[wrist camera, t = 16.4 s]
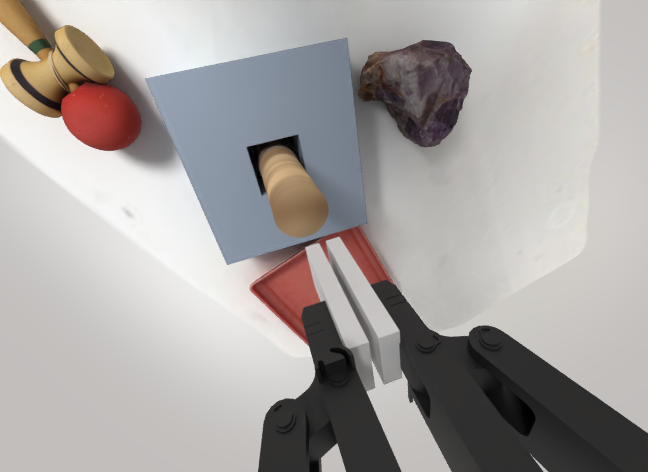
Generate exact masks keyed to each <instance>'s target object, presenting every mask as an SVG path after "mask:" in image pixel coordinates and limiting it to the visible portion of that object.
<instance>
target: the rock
mask: <svg viewBox="0 0 648 472" xmlns="http://www.w3.org/2000/svg"><path fill="white" fill-rule="evenodd" d="M471 72H472V70H471V68H470V67H469V65H468V64H467V63H466V62H465V60H464V59H462V56H461V55H460V54H459V53H458V52H456V50H455V48H454V46H453V45H452V44H451V43H448V42H440V41H430V40H423V41H421V42H419V43H416V44H413V45H410V46H408V47H406V48H404V49H400V50H396V51H392V52H375V53H374V54H372V55H369V56H368V60H367V62H366V64H365V65H364V67H363V69H362V72H361V77H360V80H361V81H360V86H361V87H360V90H359V92H358V95H359V98H360V99H361V100H363V101H371V100H373V101H384V102H385V103H386V105H387V108H388V111H389V113H390V115H391V116H392V117H393V118H394V119H395V120H396V121H397V123H398V126H397V127H398V128H399V130H400V131H401V132H402V133H403V135H404V136H405V137H406V138H408V139H410V140H411V141H413V142H414V143H416V144H418V145H419V146H421V147H432V146H436V145H438V144H440V142H441V140H443V139H444V138H445V137H446V136H447V135H449V133H450V132H451V131H452V129H453V127H454V125H455V124H456V122H457V119H458V115H459V111H461V109H462V106H463V101H464V99H465V97H466V96H467V93H468V88H469V79H470V74H471Z"/></svg>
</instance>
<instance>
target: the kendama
mask: <svg viewBox="0 0 648 472" xmlns="http://www.w3.org/2000/svg"><path fill="white" fill-rule="evenodd" d="M0 22H1V23H2V24H3V25H4V26H5V27H6V28H7V29H8V30H9V31H10V32H11V33H13V34H14V35H15V36H16V37H17V38H18V39H19V40H20V41H21V42H22V43H23V44H24V45H26V46H27V47H28V48H29V49H30V50H31V51H32V52H33V53H35V54H36V55H37V56H38V57H39V58H40V59H41V60H42V61H40V62H30V61H26V60H23V59H17V58H16V59H12V60H10V61H9V62H7V63H6V64H5V65H4V66H3V67H2V68H1V69H0V77H1V79H2V82H3V83H4V85H5V86H6V88H7V89H8V90H9V91H10V92H11V94H12V95H13V96H14V97H15V98H17V99H18V100H19V101H20V102H21V103H23V104H24V105H25V106H27V107H28V108H30V109H32V110H33V111H35V112H37V113H39V114H41V115H44V116H48V117H52V118H58V117H61V116H62V117H63V120H64V122H65V125H66V126H67V128H68V129H69V131H70V132H71V133H72V134H73V135H74V136H75V137H76V138H77V139H78V140H80V141H81V142H83V143H84V144H86V145H88V146H90V147H93V148H96V149H99V150H104V151H114V150H119V149H123V148H125V147H127V146H129V145H130V144H131V143H133V142H134V141H135V139H136V138H137V137H138V135H139V133H140V130H141V117H140V114H139V111H138V109H137V107H136V106H135V104H134V103H133V101H132V100H131V99H130V98H129V97H128V96H127V95H126V94H125V93H123V92H122V91H121V90H119V89H117V88H115V87H113V86H111V85H108V84H107V83H108V82H109V81H110V80H111V79H112V78H113V77H114V76H115V75H114V74H115V73H114V69H113V66H112V64H111V62H110V60H109V59H108V57H107V56H106V55H105V53H104V52H103V51H102V50H101V49H100V47H99V46H98V45H97V44H96V43H95V42H94V41H93V40H92V39H91V38H89V37H88V36H87V35H86V34H85V33H83V32H82V31H80V30H79V29H77V28H75V27H73V26H70V25H65V26H63V27H62V28H60V29H58V30H57V31H56V32H55V43H56V47H55V50H53V48H52V47H51V45H50V44H49V42H48V41H47V39H46V38H45V36H44V35H43V33H42V32H41V30H40V29H39V28H38V26H37V25H36V23H35V22H34V20H33V19H32V18H31V16H30V15H29V13H28V12H27V11H26V9H25V8H24V6H23V5H22V4H21V2H20V1H19V0H0Z"/></svg>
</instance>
